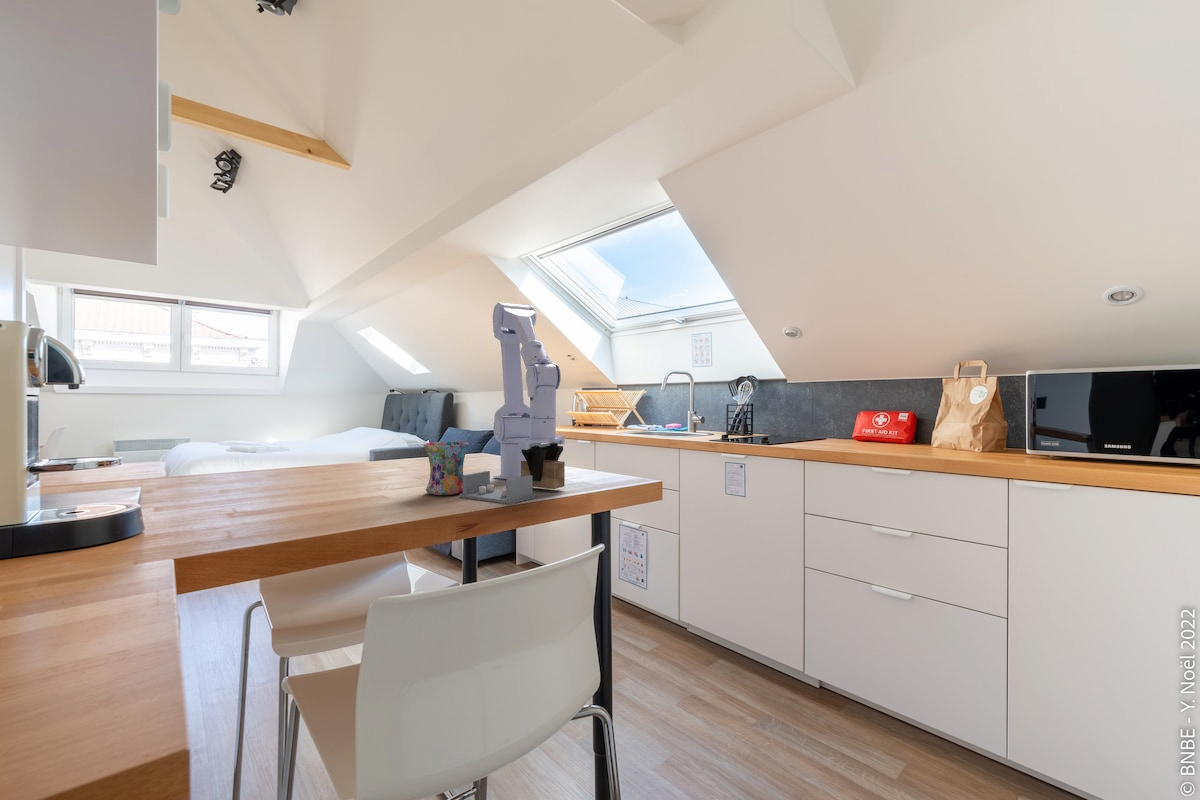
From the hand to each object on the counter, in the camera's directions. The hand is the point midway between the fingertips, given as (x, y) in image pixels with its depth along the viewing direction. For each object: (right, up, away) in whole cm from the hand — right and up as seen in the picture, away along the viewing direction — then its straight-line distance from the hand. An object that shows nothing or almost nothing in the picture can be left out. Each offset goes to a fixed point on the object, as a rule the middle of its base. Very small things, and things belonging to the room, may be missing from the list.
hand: (542, 479), depth 114 cm
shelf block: (0, -2, 0) cm, 2 cm away
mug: (-20, -3, -3) cm, 20 cm away
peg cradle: (-8, -2, -9) cm, 12 cm away
